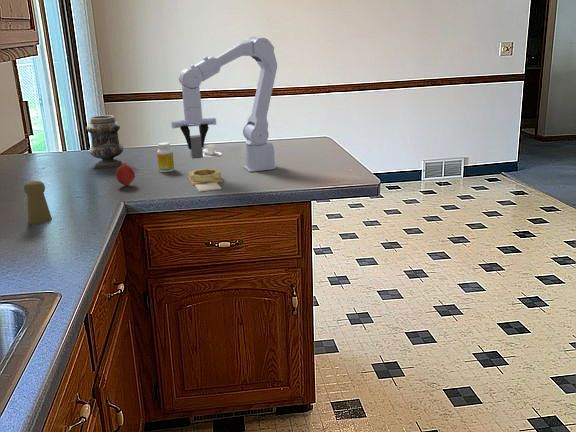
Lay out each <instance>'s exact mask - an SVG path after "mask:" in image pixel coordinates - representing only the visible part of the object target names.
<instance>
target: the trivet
mask: <svg viewBox="0 0 576 432" xmlns="http://www.w3.org/2000/svg"><path fill="white" fill-rule="evenodd" d="M194 186H195V188H196V190H197V191H198V192H199V193H200V192H202V193H203V192H209V191H216V190H217V191H218V190H222V187H221V186H220V185H219V183H217V182H216V183H207V184H199V185H194Z"/></svg>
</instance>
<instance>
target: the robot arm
mask: <svg viewBox="0 0 576 432" xmlns="http://www.w3.org/2000/svg"><path fill="white" fill-rule="evenodd" d="M241 57H251V58H252V59H254V60H255V62H256V63H257V65H258V66H259V67H260V70H259V71H260V72H259V76H258V79H257V80H258V81H257V85H256V90H255V91H256V92H255V96H254V99H253V106H252V110H251V114H250V115H249V117H248V118H247V122H246V124H245V125H244V127H243V129H242V134H243V136H244V138H245V139H246V141H245V153H246V155H245V156H246V165H243V168H245V170H246V171H248V172H250V173H251V172H252V173H253V172H260V171H267V170H268V171H270V170H276V165H275V164H276V161H275V147H274V145H273V143H272V141H271V142H268V140H269V134H270V133H269V129H268V128H269V122H268V112H269V107H270V103H271V100H272V99H271V98H272V94H273V93H272V92H273V89H274V85H275V79H276V75H277V69H278V62H277V58H276V54H275V46H274V45H273V44H272V42H271V41H270V40H269V39H268V38H266V37H256V36H253V37H252V36H251V37H250V38H248V39H245V40H242V41H241V42H239V43H237V44H235V45H234V46H232V47H231V48H229V49H227V50H225V51H224V52H223V53H221V54H220V55H218V56H217V57H214V56H211V55H210V56H204V57H203V58H202V59H203V60H202V61H200V62H198V63H195V64H190V68H185V69H183V70H182V71H181V72H180V74H179V77H178V80H179V83H180V84H181V89H182V103H183V104H182V105H183V113H184V116H183V117H184V119H183V120H177V121H176V120H175V121H170V124H171V126H170V127H171V129H177V128H179V129H180V131H181V132H182V134H183V136H184V138H185V140H186V144H187V147H188V149H189V150H190V149H191V141H190V136H191V130H190V128H191V127H198V129H199V135H200V136H201V142H202V149H203V148H204V147H205V140H206V136H207V134H208V131H209V128H210V127H209V125H210V126H211V125H213V126H214V125H217V118H215V117H211V118H210V117H209V118H203V111H202V110H203V108H202V97H201V91H200V89H201V88H200V86H201V84H202V82H205V81H206V80H208V79H210V78H211V77H213V76H215V75H217V74H219V73H220V71H221V67H224V66H225V65H227V64H229V63H231V62H232V61H235V60H236V59H238V58H241ZM204 149H205V148H204Z"/></svg>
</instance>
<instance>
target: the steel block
mask: <svg viewBox="0 0 576 432" xmlns="http://www.w3.org/2000/svg"><path fill="white" fill-rule="evenodd" d="M190 141H191V149H189V150H190V151H189V152H190V158H191V159H193V160H194V159H202V158H203V157H204V156H203V148H202V142H201V136H200V134H196V135H190Z"/></svg>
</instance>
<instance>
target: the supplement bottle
mask: <svg viewBox="0 0 576 432" xmlns="http://www.w3.org/2000/svg"><path fill="white" fill-rule="evenodd" d="M157 147H158V150H157V151H156V154H157V155H156V157H157V164H158V171H159V172H161V173H168V172H173V171H175V163H174V151H173V149H171V148H170V147H171V143H170V142H167V141H166V142H159V143H157Z"/></svg>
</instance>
